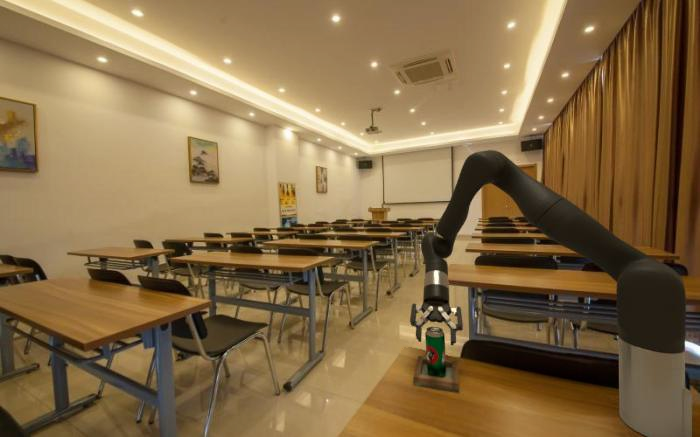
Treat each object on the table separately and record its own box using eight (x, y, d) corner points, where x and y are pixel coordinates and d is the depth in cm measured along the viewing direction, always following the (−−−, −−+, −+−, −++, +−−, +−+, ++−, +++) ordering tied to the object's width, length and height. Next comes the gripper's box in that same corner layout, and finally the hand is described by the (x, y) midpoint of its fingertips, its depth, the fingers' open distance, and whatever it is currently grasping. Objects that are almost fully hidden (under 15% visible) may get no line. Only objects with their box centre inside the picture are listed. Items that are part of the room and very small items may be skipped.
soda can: (447, 378, 76) (445, 333, 75) (427, 377, 77) (425, 333, 76) (445, 368, 81) (443, 326, 80) (426, 367, 82) (424, 325, 81)
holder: (458, 368, 82) (457, 360, 82) (458, 392, 71) (458, 383, 71) (418, 363, 85) (418, 355, 85) (413, 385, 75) (413, 376, 75)
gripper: (411, 281, 88) (407, 334, 78) (461, 283, 84) (463, 340, 73) (414, 293, 94) (410, 344, 83) (461, 296, 89) (463, 350, 78)
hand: (435, 342), depth 78 cm, fingers open, 8 cm apart
